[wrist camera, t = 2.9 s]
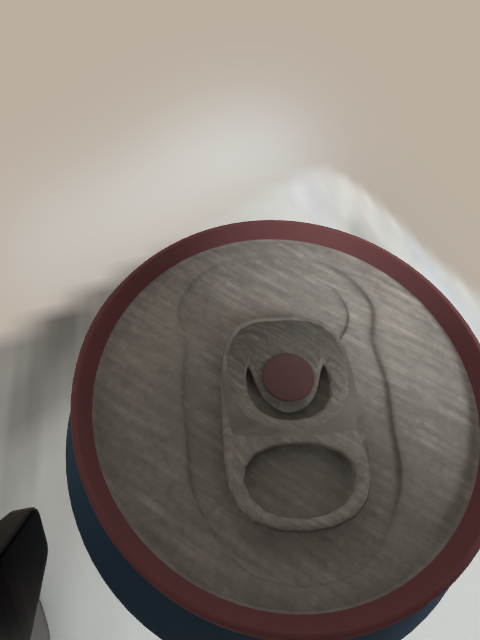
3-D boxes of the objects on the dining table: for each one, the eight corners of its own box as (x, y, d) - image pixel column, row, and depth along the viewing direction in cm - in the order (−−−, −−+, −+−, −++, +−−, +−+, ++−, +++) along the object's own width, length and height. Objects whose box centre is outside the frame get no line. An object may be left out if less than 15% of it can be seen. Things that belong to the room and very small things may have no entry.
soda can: (158, 412, 17) (68, 192, 7) (316, 407, 18) (453, 193, 7) (146, 611, 14) (-76, 770, 3) (345, 597, 14) (697, 699, 4)
